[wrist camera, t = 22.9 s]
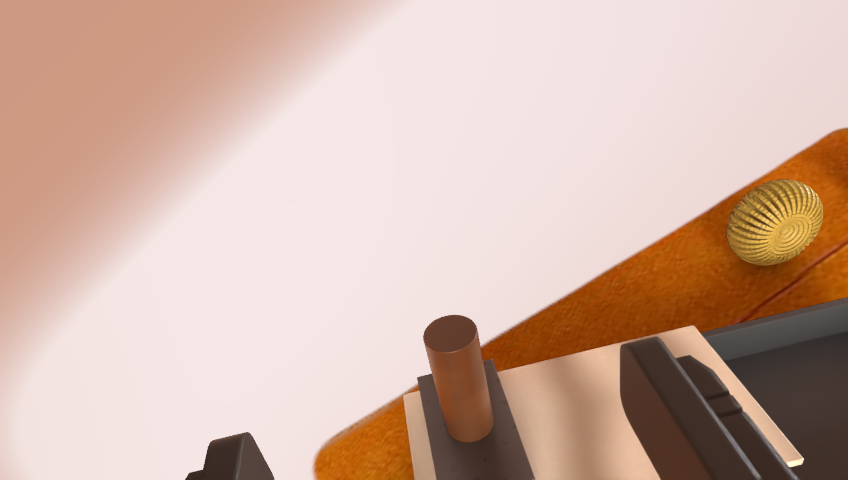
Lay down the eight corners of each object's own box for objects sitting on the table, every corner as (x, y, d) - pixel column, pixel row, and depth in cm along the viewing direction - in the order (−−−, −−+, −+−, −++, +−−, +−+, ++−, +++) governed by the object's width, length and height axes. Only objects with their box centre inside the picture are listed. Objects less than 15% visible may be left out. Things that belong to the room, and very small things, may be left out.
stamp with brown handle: (448, 529, 31) (414, 411, 26) (423, 402, 38) (393, 292, 33) (539, 506, 31) (522, 384, 26) (496, 384, 39) (477, 272, 34)
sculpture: (792, 237, 55) (806, 161, 50) (825, 260, 51) (843, 181, 47) (713, 259, 54) (720, 184, 50) (740, 284, 51) (751, 206, 46)
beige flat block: (443, 607, 33) (424, 551, 30) (419, 449, 43) (402, 394, 39) (787, 523, 34) (804, 458, 30) (688, 385, 43) (693, 324, 40)
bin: (751, 563, 32) (758, 529, 30) (637, 379, 44) (637, 347, 42) (1047, 490, 32) (1072, 452, 31) (854, 327, 44) (863, 293, 43)
